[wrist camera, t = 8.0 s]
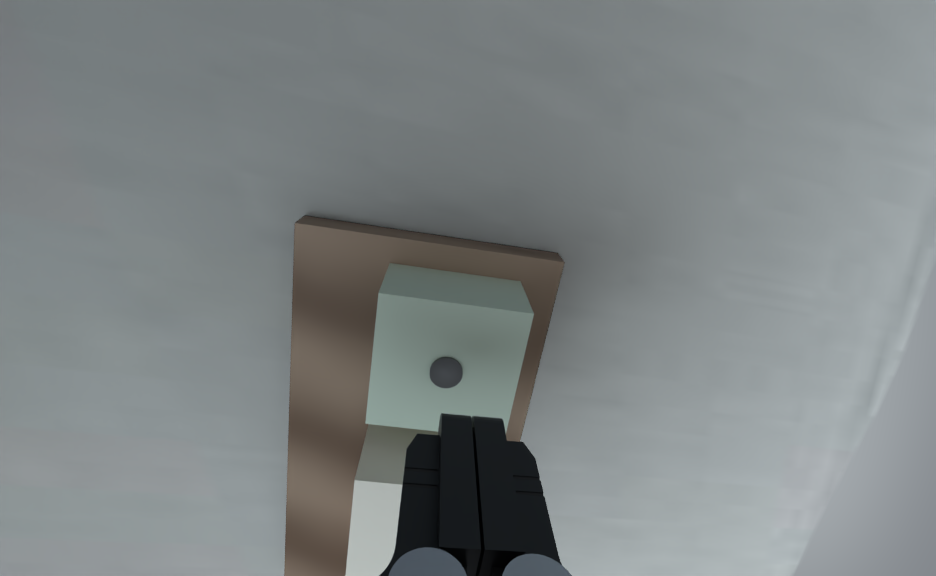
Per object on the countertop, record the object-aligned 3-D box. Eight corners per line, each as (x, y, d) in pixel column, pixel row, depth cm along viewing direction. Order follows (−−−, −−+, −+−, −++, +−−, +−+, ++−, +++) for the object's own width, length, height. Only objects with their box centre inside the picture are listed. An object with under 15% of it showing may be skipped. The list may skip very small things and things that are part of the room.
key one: (389, 263, 17) (377, 295, 14) (520, 281, 18) (535, 316, 15) (377, 377, 19) (364, 427, 16) (496, 391, 19) (505, 442, 16)
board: (304, 215, 18) (294, 222, 17) (557, 252, 19) (564, 262, 18) (291, 567, 24) (284, 589, 23) (478, 581, 25) (479, 603, 24)
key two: (369, 421, 18) (353, 484, 15) (495, 435, 18) (505, 499, 15) (359, 518, 20) (343, 591, 17) (475, 528, 20) (479, 601, 17)
